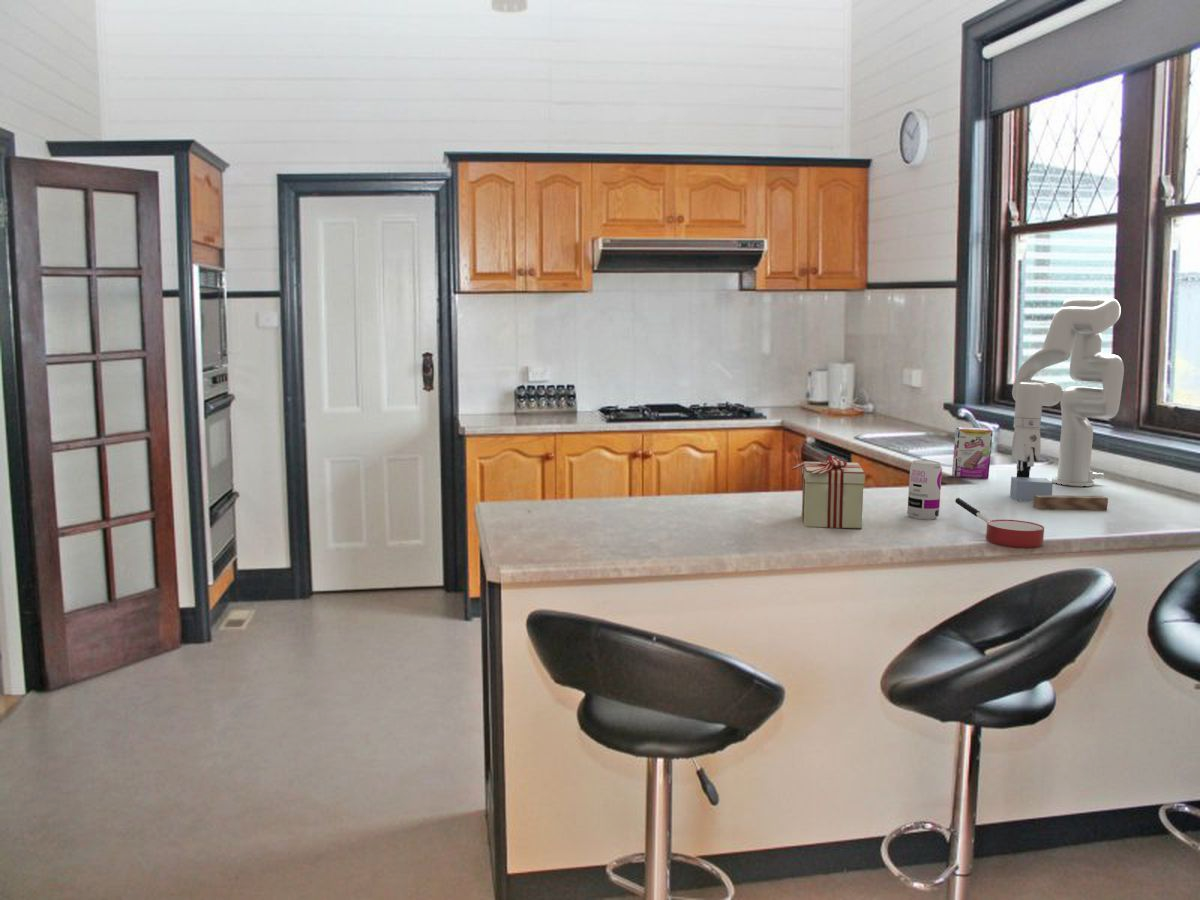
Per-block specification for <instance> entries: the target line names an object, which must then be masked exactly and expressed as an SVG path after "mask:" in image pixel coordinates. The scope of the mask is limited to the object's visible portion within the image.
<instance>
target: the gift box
mask: <svg viewBox="0 0 1200 900" xmlns="http://www.w3.org/2000/svg"><path fill="white" fill-rule="evenodd" d="M827 459H828V460H824V461H802V462H801V463H798V464H796V465H795V466H793V467H791V468H790V470H792V471H793V470H797V469H798V468H800V467H801V474H802V492H801V493H802V495H801V496H802V497H801V499H802V500H801V520H802V522H803V526H804V527H805V528H825V529H826V528H827V529H856V530H857V529H862V528H863V506H864V505H863V503H864V485H865V484H866V483H865V482H866V472H865V470H864V469H863V468H862V467H861V465H860V464H859V462H846V461H842V460H841V459H839V458H837V457H836V456H834V455H831V454H827Z"/></svg>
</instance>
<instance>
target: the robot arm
mask: <svg viewBox="0 0 1200 900" xmlns="http://www.w3.org/2000/svg"><path fill="white" fill-rule="evenodd" d="M1121 309H1122V308H1121V305H1120V303H1119V301H1118V300H1117V299H1115V298H1112V297H1089V296H1088V297H1086V296H1085V297H1083V296H1081V297H1070V298H1067V299H1066V300H1064V301H1063V304H1062V306H1061V307H1060V308H1058V309H1057V310H1056V311H1055V313H1054V315H1053V317H1052V321H1051V322H1050V324H1049V328H1048V331H1047V334H1046V336H1045V339H1044V343H1043V344H1042V345H1043V346H1042V347H1041V348H1040V349H1039V350H1038V351H1036V352H1035V353H1033V354H1032V355H1031V356H1029V357H1028V358H1027V360H1025V361H1024V362H1023V363H1022V364H1021V365H1020V367H1019V369H1018V371H1017V374H1016V377H1015V378H1014V382H1013V386H1012V390H1011V395H1012V398H1013V400H1014V401H1015V405H1014V416H1013V417H1014V418H1013V419H1014V420H1013V428H1014V430H1013V437H1012V445H1011V457H1012V458H1014V462H1015V463H1016V477H1028V478H1030V473H1031V470H1032V469H1031V468H1032V467H1034V465H1035V464H1034V463H1038V462H1040V459H1041V423H1042V413H1043V407H1044V406H1045V407H1053V406H1055V405H1058V404H1060V412H1061V426H1060V427H1061V429H1060V441H1059V453H1058V467H1057V476H1055V477H1052V478H1051V482H1052V483H1053V484H1056V483H1057V485H1061V484H1062V486H1067V485H1068V487H1069V486H1070V487H1083V486H1086V487H1093V486H1094V485H1095V481H1093V480H1095V479H1098V480H1104V479H1105V473H1104V472H1095V471H1094V470H1091V461H1092V450H1093V449H1092V448H1093V440H1094V439H1093V437H1094V429H1093V426H1092V423H1091V422H1090V421H1089V418H1093V419H1095V418H1096V419H1105V420H1107V419H1108V420H1109V419H1110V420H1111V419H1113V418H1115V417H1116V416H1117V414H1118V413H1119V410H1120V405H1121V404H1120V403H1121V398H1122V391H1123V390H1122V389H1123V382H1124V373H1125V372H1124V371H1125V365H1124V361H1123V360H1122V358H1121V357H1120V356H1119V355H1116V354H1112V353H1102V343H1103V337H1102V333H1103V332H1105V331H1107V330H1108V329H1109V328H1111V327H1112V326H1114V325H1115V324H1116V323H1117V322H1118V321H1119V319H1120V317H1121V311H1122V310H1121ZM1068 359H1070V363H1069V376H1070V378H1071V379H1072V380H1073V381H1075V382H1078V383H1086V384H1087V383H1088V384H1100V385H1102V388H1101V387H1092V386H1081V385H1080V386H1079V385H1076V386H1070V387H1069V386H1068V387H1067V388H1065V389H1064V390H1063V388H1062V385H1060V384H1059V383H1057V382H1054V381H1050V380H1041V379H1040V380H1038V379H1032V378H1034V376H1035V375H1036V374H1037V373H1038V372H1040V371H1041V370H1044V369H1046V368H1048V367H1052V366H1054V365H1057V364H1060V363H1063V362H1065V361H1068Z"/></svg>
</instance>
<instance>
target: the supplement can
mask: <svg viewBox="0 0 1200 900" xmlns="http://www.w3.org/2000/svg"><path fill="white" fill-rule="evenodd" d="M909 468H910V469H909V479H908V480H909V483H908V497H907V498H908V499H907V513H906V514H907V515H908V517H910V518H911V519H916V520H923V521H928V520H930V521H931V520H936V519H937V518H938V517H939V516H940V503H941V487H942V477H943V476H942V475H943V467H942V466H941V462H939V461H935V460H927V459H926V460H925V459H924V460H923V459H921V460H919V459H917V460H913V461H912V463H911V464H910V466H909Z"/></svg>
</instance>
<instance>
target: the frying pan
mask: <svg viewBox="0 0 1200 900" xmlns="http://www.w3.org/2000/svg"><path fill="white" fill-rule="evenodd" d="M954 501H955V504H957V505H959V506H960V507H961V508H963V509H964V510H966V511H967V512H969V513H970V514H972V515H973V516H975V517H978V518H979V519H981V520H983V522H985V523H986V536H985V539H986V541H988V543H990V544H993V545H997V546H1001V547H1006V548H1008V547H1009V548H1015V549H1032V548H1033V549H1034V548H1039V547H1041V546H1042V545H1044V537H1045V526H1044V525H1042V524H1040V523H1035V522H1032V521H1026V520H1025V521H1024V520H1017V519H990V518H988V517H987V516H985V515H984V514H982V513H981V512H980V510H978V509H977V508H975V507H973V506H972V505H970V504H969V503H967V502H966V501H965V500H963V499H962V498H960V497H956V498H955V500H954Z"/></svg>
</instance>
